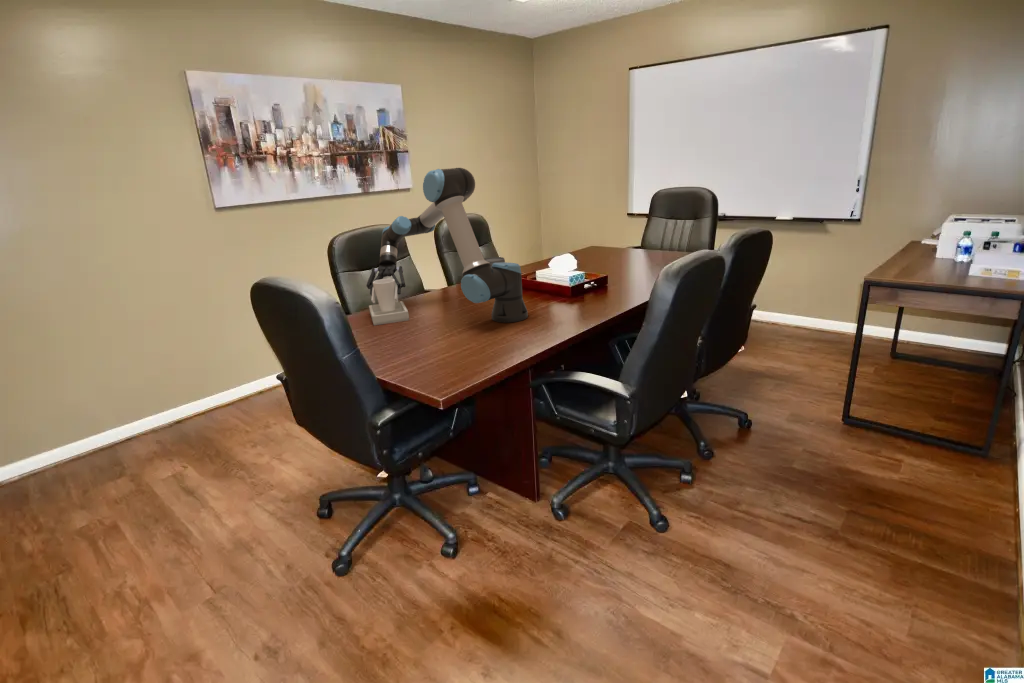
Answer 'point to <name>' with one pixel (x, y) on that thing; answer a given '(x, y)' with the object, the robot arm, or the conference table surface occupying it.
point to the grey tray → (389, 314)
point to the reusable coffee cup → (494, 260)
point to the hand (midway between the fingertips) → (384, 301)
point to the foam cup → (385, 294)
